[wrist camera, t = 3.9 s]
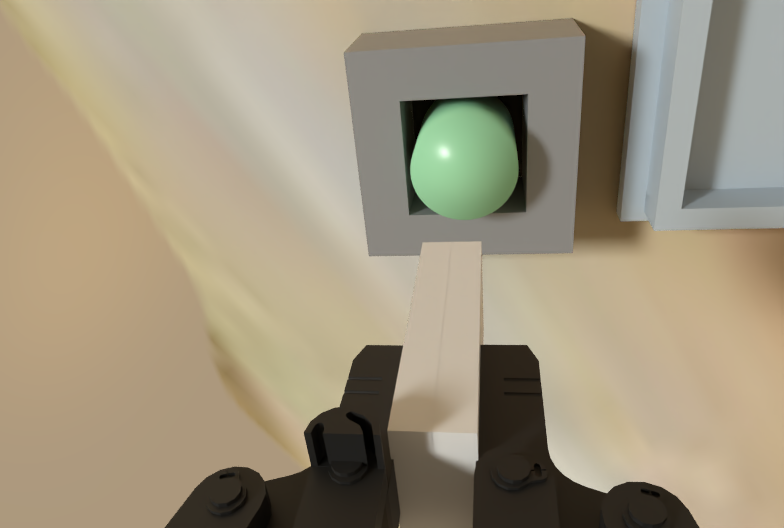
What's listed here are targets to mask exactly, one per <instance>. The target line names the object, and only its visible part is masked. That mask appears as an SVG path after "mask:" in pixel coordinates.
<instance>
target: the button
mask: <svg viewBox="0 0 784 528" xmlns="http://www.w3.org/2000/svg"><path fill="white" fill-rule="evenodd" d="M518 171H519V167H518V157H517V148H516V140H515V131H514V124H513V120H512V117H511V115H510V113H509V111H508V109H507V108H506V106H505V105H504V104H503V103H502V102H501V100H499V99H498V98H497V97H496V96H485V97H467V98H449V99H437V100H436V101H435V102H434V103H433V104H432V105H431V106H430V107H429V109H428V110H427V112H426V114H425V116H424V119H423V122H422V125H421V128H420V132H419V135H418V138H417V142H416V145H415V149H414V152H413V155H412V159H411V165H410V174H411V180H412V184H413V187H414V189H415V191H416V193H417V195H418V196H419V198H420V199H421V200H422V202H423V203H424V204H425V205H426V206H427V207H429V208H430V209H431V210H433V211H434V212H436V213H438V214H440V215H442V216H444V217H447V218H451V219H457V220H472V219H477V218H481V217H484V216H486V215H489V214H491V213H493V212H494V211H496V210H497V209H499V208H500V207H501V206H502V205H503V204H504V203H505V202H506V201H507V200H508V198H509V197H510V196H511V194H512V192H513V190H514V188H515V186H516V183H517V179H518Z"/></svg>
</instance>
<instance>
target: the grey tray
mask: <svg viewBox="0 0 784 528" xmlns="http://www.w3.org/2000/svg"><path fill="white" fill-rule="evenodd" d="M617 215H618V217H619V219H620V221H649V222H650V224H651V226H652V228H653V230H654V231H661V230H710V229H759V228H784V0H637V1H636V12H635V23H634V33H633V44H632V54H631V65H630V75H629V86H628V96H627V107H626V118H625V128H624V139H623V149H622V160H621V170H620V181H619V192H618V202H617Z"/></svg>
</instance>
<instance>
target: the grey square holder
mask: <svg viewBox="0 0 784 528" xmlns="http://www.w3.org/2000/svg"><path fill="white" fill-rule="evenodd" d="M584 53H585V35H584V33H583V32H582V30H581V29H580V28H579V26H578V25H577V24H576V22H575V21H574V20H573V18H571V19H557V20H543V21H530V22H516V23H502V24H488V25H475V26H461V27H447V28H434V29H420V30H406V31H393V32H379V33H365V34H361V35H360V36H359V37H358V38H357V39H356V40H355V41H354V42H353V43H352V44H351V45H350V47H349V48H348V49H347V50H346V51H345V52H344V58H345V66H346V74H347V82H348V90H349V98H350V106H351V115H352V123H353V131H354V139H355V147H356V155H357V163H358V171H359V179H360V187H361V195H362V204H363V212H364V220H365V228H366V236H367V244H368V252H369V256H415V255H420V254H421V248H422V243H423V242H473V241H481V242H482V254H545V253H573V239H574V223H575V206H576V189H577V172H578V155H579V138H580V121H581V104H582V87H583V70H584ZM521 94H523V123H522V177H518V179H517V183H516V186H515V188H514V190H513V192H512V194H511V196H510V197H509V198H508V200H507V201H506V202H505V203H504V204H503V205H502V206H501V207H500V208H499V209H497V210H496V211H494V212H493V213H491V214H489V215H486V216H484V217H481V218H477V219H472V220H457V219H451V218H447V217H444V216H442V215H440V214H438V213H436V212H434V211H433V210H431V209H430V208H429V207H427V206H426V205H425V204H424V203H423V202H422V200H421V199H420V198H419V196H418V195H417V193H416V191H415V189H414V187H413V184H412V180H411V174H410V165H411V159H412V155H413V152H414V149H415V135H414V122H413V108H412V100H430V99H449V98H467V97H485V96H503V95H521Z"/></svg>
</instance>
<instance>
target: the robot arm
mask: <svg viewBox="0 0 784 528" xmlns="http://www.w3.org/2000/svg"><path fill="white" fill-rule="evenodd" d="M348 378H349V379H348V380H347V383H346V387H345V390H344V391H345V393H344V394H343V397H342V401H341V404H340V407H338V408H333V409H331V410H328V411H326V412H323V413H321V414H320V415H318V416H317V417H316V418H315V419H313V420H312V421H311V422H310V423H309V425H308V426H307V428H306V430H305V431H304V436H305V440H306V445H307V449H308V453H309V458H310V462H311V467H309V468H307V469H305V470H303V471H301V472H299V473H296V474H293V475H290V476H286V477H282V478H277V479H273V480H269V481H264V480H263V478H262V477H261V476H260V474H259V473H258V472H256V471H254V470H252V469H250V468H246V467H232V468H227V469H223V470H220V471H218V472H216V473H214V474H212V475H210V476H208V477H207V478H206V479H205V480H203V481H202V482H201V483H200V484H199V485H198V486H197V487H196V488H195V489H194V491H193V492H192V493H191V495H190V496H189V497H188V498H187V500H186V501H185V502H184V504H183V505H182V506H181V507H180V509H179V510H178V512H177V513H176V514H175V515H174V516H173V518H172V519H171V520H170V522H169V523H168V524H167V525H166V527H165V528H398V527H399V524H400V528H699V526H698V525H697V523H696V521H695V520H694V518H693V516H692V515H691V513H690V512H689V510H688V509H687V508H686V507H685V505H684V504H683V503H682V502H681V501H680V500H679V499H678V497H676V496H675V495H673V494H672V493H670V492H668V491H667V490H665V489H664V488H662V487H659V486H656V485H652V484H649V483H646V482H626V483H624V484H621V485H618V486H615V487H613V488H612V489H611V490H610V491H609V492H608V493H604V492H600V491H597V490H594V489H591V488H588V487H585V486H583V485H580V484H578V483H575V482H573V481H572V480H570V479H569V478H567V477H566V476H564V475H563V474H562V473H561V472H560V471H559V470H558V469H557V468H556V467H555V465H554V463H553V462H552V460H551V458H550V455H549V451H548V445H547V436H546V426H545V417H544V407H543V398H542V388H541V381H540V369H539V361H538V359H537V358H536V357H535V355H534V354H533V353H532V351H531V350H530V348H529V347H528V346H527V345H483V286H482V242H481V241H473V242H423V243H422V248H421V254H420V259H419V264H418V270H417V275H416V280H415V286H414V291H413V296H412V302H411V307H410V312H409V317H408V323H407V328H406V333H405V339H404V344H403V346H391V345H366V346H365V348H364V349H363V350H362V351H361V352H360V353H359V354H358V355H357V356H356V358H355V359H354V360H353V363H352V366H351V370H350V373H349V377H348Z"/></svg>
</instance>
